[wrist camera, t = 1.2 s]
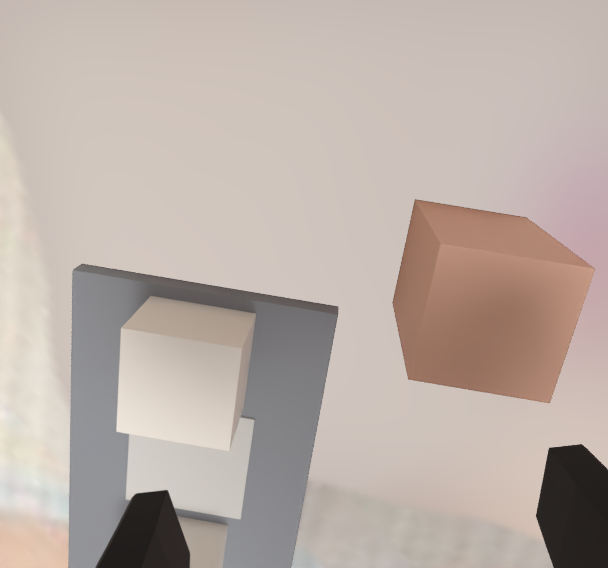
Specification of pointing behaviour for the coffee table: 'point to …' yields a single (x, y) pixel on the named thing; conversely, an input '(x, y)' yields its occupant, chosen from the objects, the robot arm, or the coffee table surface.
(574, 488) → the robot arm
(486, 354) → the terracotta block
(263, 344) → the block set board
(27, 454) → the coffee table surface
